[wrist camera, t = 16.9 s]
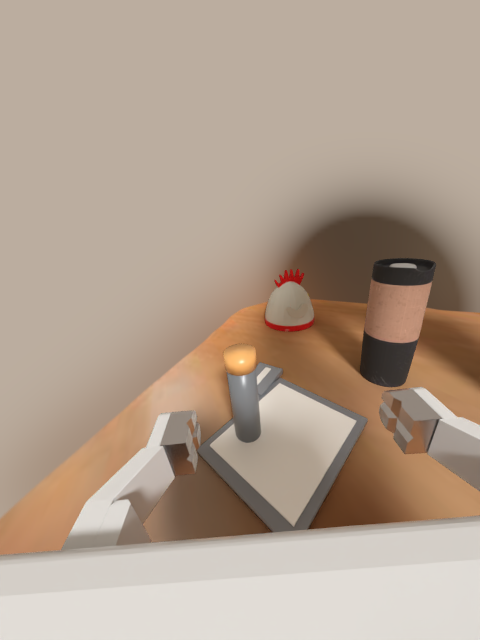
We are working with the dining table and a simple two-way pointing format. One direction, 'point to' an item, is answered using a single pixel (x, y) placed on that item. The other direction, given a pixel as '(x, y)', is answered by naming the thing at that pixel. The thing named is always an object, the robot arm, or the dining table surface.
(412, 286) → the travel mug
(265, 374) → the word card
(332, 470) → the paper pad
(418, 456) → the dining table surface
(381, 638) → the robot arm
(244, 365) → the marker
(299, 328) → the kitchen timer
